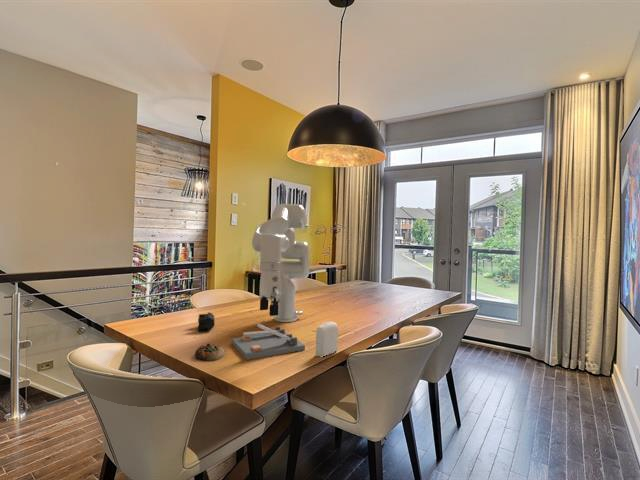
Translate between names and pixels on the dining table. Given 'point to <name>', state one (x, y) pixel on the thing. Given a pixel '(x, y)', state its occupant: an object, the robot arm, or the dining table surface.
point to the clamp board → (266, 345)
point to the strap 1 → (258, 333)
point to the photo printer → (326, 338)
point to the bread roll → (209, 352)
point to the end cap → (205, 322)
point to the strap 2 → (274, 332)
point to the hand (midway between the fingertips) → (268, 312)
